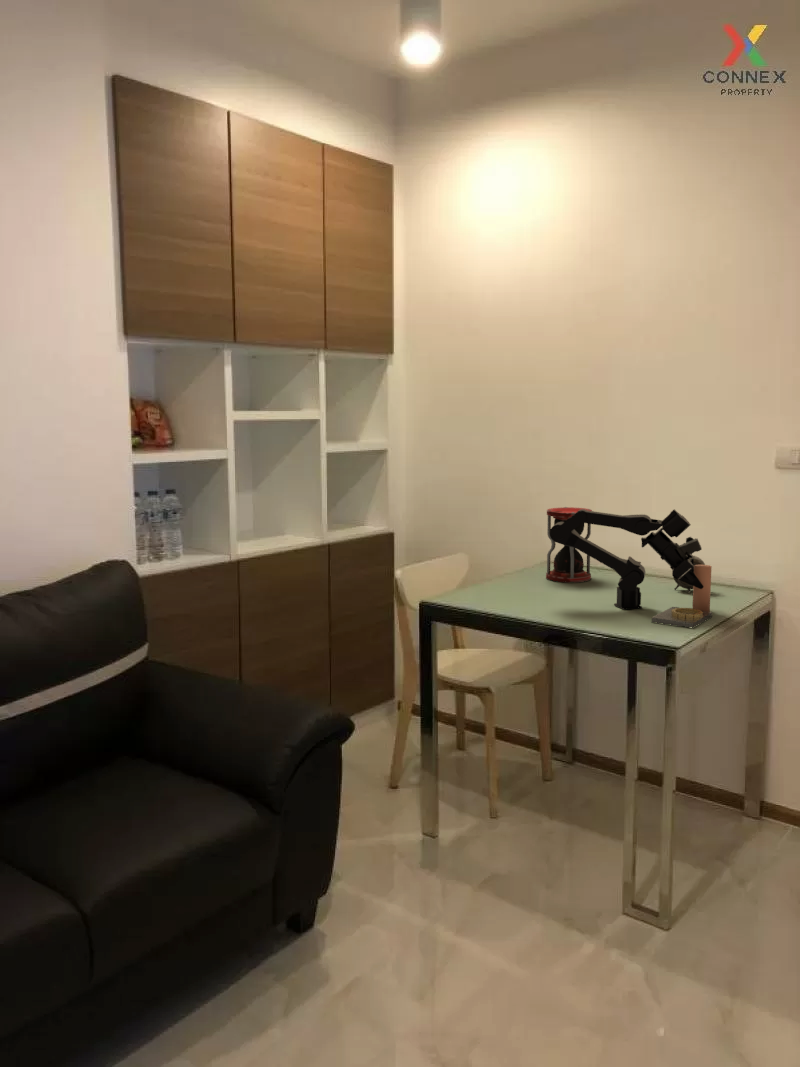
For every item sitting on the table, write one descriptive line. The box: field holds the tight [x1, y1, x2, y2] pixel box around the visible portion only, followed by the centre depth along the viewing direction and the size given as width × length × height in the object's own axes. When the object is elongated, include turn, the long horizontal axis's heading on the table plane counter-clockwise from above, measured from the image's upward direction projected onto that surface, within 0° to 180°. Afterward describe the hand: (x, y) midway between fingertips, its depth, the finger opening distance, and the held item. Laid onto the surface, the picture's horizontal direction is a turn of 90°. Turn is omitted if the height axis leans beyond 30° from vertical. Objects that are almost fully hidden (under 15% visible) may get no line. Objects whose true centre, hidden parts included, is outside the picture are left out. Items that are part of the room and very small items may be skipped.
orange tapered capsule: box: [692, 564, 713, 612], centre depth 267 cm, size 5×5×14 cm
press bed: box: [651, 606, 713, 629], centre depth 259 cm, size 16×12×2 cm
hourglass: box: [545, 506, 593, 583], centre depth 317 cm, size 16×16×25 cm
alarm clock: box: [672, 552, 706, 593], centre depth 294 cm, size 11×5×16 cm, turn 74°
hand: (702, 584), depth 267 cm, fingers open, 9 cm apart
